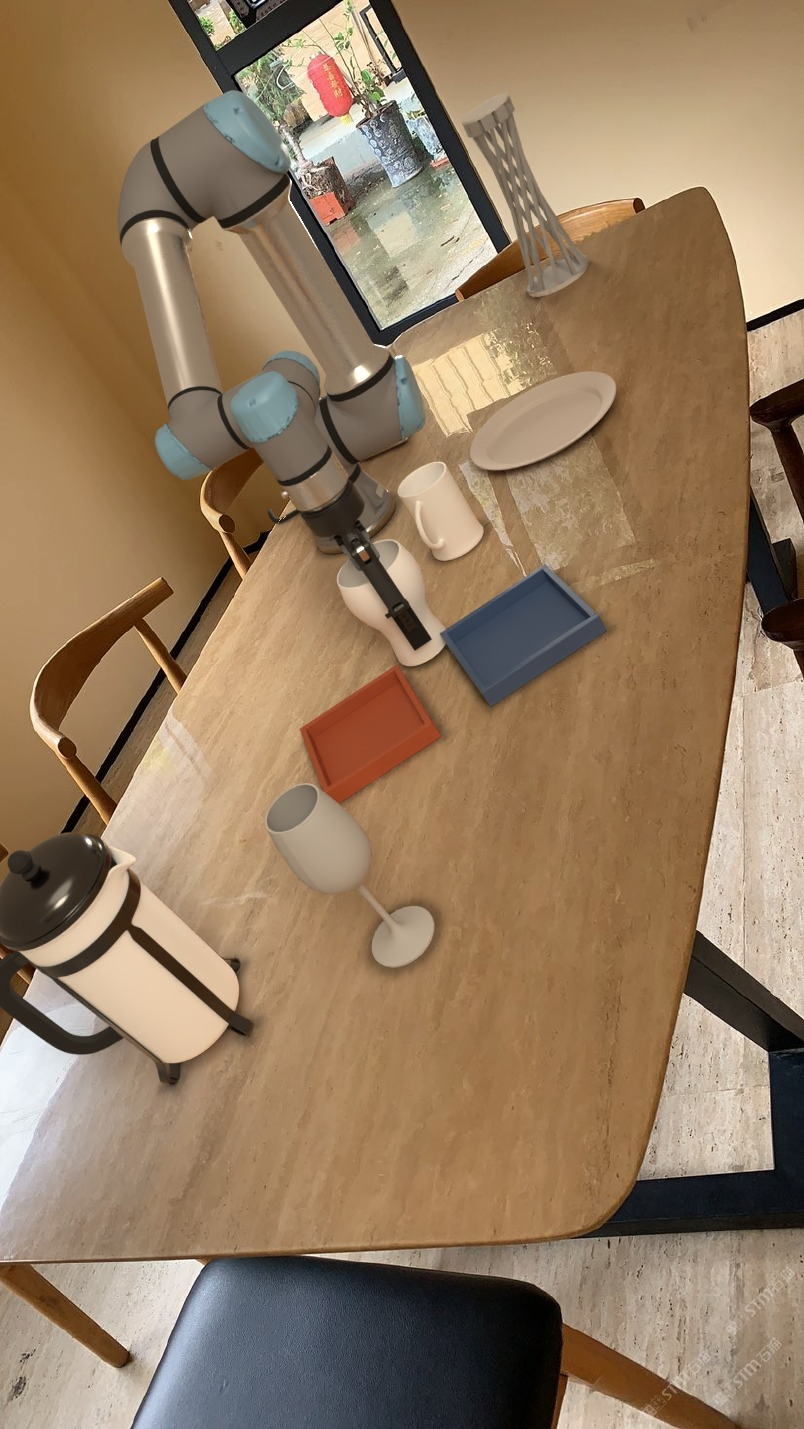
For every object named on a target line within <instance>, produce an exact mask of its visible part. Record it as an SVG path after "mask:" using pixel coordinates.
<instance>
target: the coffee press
mask: <svg viewBox="0 0 804 1429" xmlns="http://www.w3.org/2000/svg"><path fill="white" fill-rule="evenodd" d="M136 863H137V858H136V857H135V856H134V855H132V854H131V853H128V852H126V851H123V850H121V849H119V848H116V847H115V846H112V845H110V844H107V843H106V842H105V841H104V839H102V838H101V837H100V836H98V835H95V834H91V833H83V832H76V831H69V832H63V833H59V834H56V835H53V836H50V837H48V838H46V839H44V840H42V841H41V842H39V843H37V844H36V845H34V846H32V847H31V848H30V849H29V850H28V851H26V850H23V849H18V850H15V851H13V852H12V853H10V854H9V856H8V858H7V868H8V869H9V870H8V872H7V873H6V874H5V876H4V878H3V879H2V881H0V882H1V883H0V944H2V946H4V947H5V948H6V949H8V950H10V951H12V953H8V954H6V955H5V956H4V957H2V958H1V960H0V1008H1V1009H2V1010H3V1011H4V1012H6V1013H7V1014H8V1015H9V1016H10V1017H11V1018H12V1019H14V1020H15V1021H17V1022H18V1023H19V1024H20V1025H22V1026H24V1027H25V1029H27V1030H28V1031H30V1032H31V1033H32V1034H34V1035H36V1036H37V1037H38V1038H40V1039H41V1040H43V1041H44V1042H45V1043H47V1044H48V1045H50V1046H51V1047H53V1048H55V1049H56V1050H58V1051H61V1052H63V1053H66V1054H70V1055H76V1056H83V1055H84V1056H85V1055H91V1054H95V1053H98V1052H101V1051H104V1050H106V1049H107V1048H109V1047H112V1046H113V1045H115V1044H117V1043H118V1042H120V1041H121V1040H123V1039H125V1040H126V1041H127V1042H129V1043H130V1044H131V1045H132V1046H134V1048H136V1049H138V1051H140V1052H141V1053H143V1054H144V1055H145V1056H147V1057H148V1058H149V1059H150V1060H152V1061H153V1063H154V1065H155V1066H156V1070H157V1075H158V1079H159V1082H160V1083H161V1084H164V1085H168V1086H176V1084H177V1083H178V1082H179V1079H180V1063H182V1062H183V1063H184V1062H186V1061H189V1060H192V1059H194V1058H195V1057H198V1056H200V1055H202V1054H203V1053H204V1052H205V1051H207V1050H208V1049H209V1048H210V1047H211V1046H213V1045H214V1044H215V1043H216V1042H217V1041H218V1039H220V1037H221V1036H222V1035H223V1033H224V1032H225V1031H226V1030H230V1031H232V1032H233V1033H235V1034H238V1035H239V1036H242V1037H245V1038H248V1037H249V1035H250V1033H251V1032H252V1029H253V1027H254V1026H255V1023H254V1022H253V1021H251V1020H249V1019H248V1018H246V1017H244V1016H243V1015H241V1014H239V1013H238V1012H236V1010H237V1006H238V1003H239V996H240V985H239V980H238V977H237V974H236V973H237V972H238V971H239V970H240V967H241V963H240V959H239V958H237V957H231V956H221V955H220V954H218V952H216V950H214V948H212V947H211V946H210V945H208V944H207V942H206V941H205V940H204V939H202V938H201V937H200V936H199V935H198V934H197V933H196V932H195V931H194V930H193V929H192V928H190V927H189V925H188V924H187V923H185V922H184V921H183V920H182V919H181V918H180V917H179V916H178V915H177V914H175V913H174V911H172V910H171V909H170V908H169V907H168V906H167V905H166V904H165V903H164V902H162V900H161V899H160V898H159V897H157V896H156V895H155V894H154V893H153V892H152V891H151V889H149V888H148V887H146V886H147V885H145V884H144V883H143V882H142V881H140V878H139V877H138V875H137V874H136V872H134V870H132V869H131V868H130V867H132V866H133V865H135V864H136ZM226 961H230V965H229V964H228V963H227V962H226ZM27 964H30V965H31V966H32V967H33V968H35V969H36V970H37V971H38V972H40V973H41V974H43V975H44V976H45V977H48V978H49V979H51V980H52V981H53V982H54V983H55V984H56V985H57V986H59V987H60V988H61V989H62V990H64V992H66V993H67V994H68V995H70V996H71V997H72V998H73V999H75V1000H76V1001H78V1002H79V1003H80V1004H81V1005H82V1006H84V1007H85V1008H86V1009H88V1010H89V1011H90V1012H91V1013H93V1014H94V1015H95V1016H97V1017H98V1018H99V1019H100V1020H102V1021H103V1022H104V1023H105V1024H107V1026H108V1027H106V1028H104V1029H102V1030H100V1031H99V1032H96V1033H94V1034H90V1035H77V1034H74V1033H71V1032H69V1031H67V1030H66V1029H64V1028H63V1027H62V1026H61V1025H59V1024H58V1023H57V1022H56V1021H54V1020H52V1019H51V1018H50V1017H49V1016H47V1015H46V1014H44V1013H43V1012H42V1011H41V1010H39V1009H38V1008H37V1007H35V1006H34V1005H33V1004H32V1003H30V1002H29V1001H28V1000H26V999H25V998H23V997H22V996H21V995H20V994H19V993H18V992H17V991H16V990H15V989H14V988H13V986H12V983H11V980H12V979H13V977H14V976H15V975H16V974H17V973H18V972H19V971H21V970H22V968H23V966H26V965H27ZM164 1063H166V1064H169V1075H168V1072H167V1068H166V1065H165V1064H164ZM168 1076H169V1077H168Z"/></svg>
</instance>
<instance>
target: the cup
mask: <svg viewBox="0 0 804 1429" xmlns="http://www.w3.org/2000/svg"><path fill="white" fill-rule="evenodd" d="M372 543H373V545H374V546H375V548H376V549H377V551H378V552H379V554H380V558H379V561H380V562H381V564H382V565H383V567H384V568H385V570H386V571H387V573H388V574H389V576H390V577H391V579H392V580H393V582H394V583H395V585H396V586H397V588H398V589H399V591H400V592H401V594H402V595H403V597H404V598H405V599H406V600H407V601H408V602H409V605H410V606H411V608H412V609H413V611H414V612H415V614H416V615H417V617H418V618H419V620H420V621H421V623H422V625H423V626H424V628H425V629H426V631H427V632H428V634H429V635H430V637H431V638H432V640H430V641H429V642H427V643H426V644H424V645H423V646H421V647H420V648H418V649H417V650H415V651H414V649H413V648H412V646H411V645H410V643H409V642H408V640H407V639H406V637H405V636H404V634H403V633H402V631H401V630H400V628H399V627H398V625H397V624H396V622H395V621H394V619H393V618H392V616H391V617H390V618H388V619H387V618H386V616H385V614H387V613H388V608H387V607H386V605H385V604H384V602H383V601H382V599H381V598H380V596H379V595H378V593H377V592H376V590H375V589H374V587H373V586H372V584H371V583H370V581H369V580H368V578H367V577H366V575H365V574H364V572H363V571H358V570H357V569H356V567H355V566H354V564H353V563H352V561H351V560H350V558H349V557H348V559H347V560H345V562H344V563H343V564H342V566H341V567H340V569H339V571H338V573H337V575H336V584H337V586H338V589H339V592H340V594H341V598H342V600H343V602H344V603H345V605H346V606H347V608H348V609H349V611H350V612H351V613H352V615H354V616H355V617H356V618H357V619H359V620H360V621H361V622H363V623H364V624H366V625H367V626H369V627H371V628H373V629H375V630H377V631H379V632H380V633H381V634H382V635H383V636H384V637H385V638H386V639H387V640H388V641H389V643H390V645H391V647H392V650H393V652H394V654H395V656H396V659H397V661H398V662H399V663H400V664H401V665H403V666H405V667H415V666H419V665H423V664H424V663H426V662H429V661H430V660H432V659H433V658H435V656H437V655H438V654H439V653H441V651H442V650H443V649H444V647H445V646H446V645H447V644H446V643H445V641H444V640H443V638H442V637H441V635H440V633H441V632H443V631H444V630H446V629H447V628H446V627H445V626H444V625H443V623H442V622H441V621H440V620H439V619H438V618H437V617H436V616H435V615H434V614H433V613H432V612H431V609H430V607H429V605H428V603H427V599H426V584H425V580H424V576H423V572H422V569H421V567H420V565H419V564H418V562H417V561H416V559H415V557H414V556H413V554H412V553H411V552H410V551H409V550H407V548H406V547H404V546H403V545H402V544H401V543H400V542H399V541H397V540H396V539H392V538H387V539H379V540H376V541H374V542H372Z"/></svg>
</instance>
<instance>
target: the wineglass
mask: <svg viewBox="0 0 804 1429" xmlns="http://www.w3.org/2000/svg"><path fill="white" fill-rule="evenodd" d="M264 826H265V829H266V831H267V833H268V835H269V837H270V838H271V840H272V842H273V844H274V846H275V847H276V849H277V851H278V853H279V854H280V855H281V857H282V858H283V860H284V862H285V863H286V864H287V866H288V868H290V870H291V871H292V873H293V874H294V875H295V876H296V877H297V878H298V879H299V881H301V883H302V884H304V885H305V886H306V887H307V888H309V889H310V890H312V891H313V892H316V893H319V894H322V895H327V896H336V895H337V896H338V895H339V896H340V895H344V894H347V893H350V892H353V891H357V892H358V893H359V894H361V896H363V898H364V899H365V900H366V901H367V903H369V904H370V906H371V907H372V908H373V909H374V910H375V912H376V913H377V914H378V915H379V916H380V918H382V921H381V923H379V925H378V926H377V929H376V930H375V932H374V934H373V937H372V941H371V952H372V955H373V958H374V959H375V961H376V962H377V963H378V964H379V965H381V966H383V967H384V968H391V969H395V968H403V967H404V966H407V965H409V964H411V963H412V962H414V961H416V960H418V958H419V957H420V956H422V955H423V954H424V952H425V951H426V950H428V947H429V946H430V944H431V942H432V941H433V937H434V934H435V926H436V925H435V921H434V917H433V916H432V914H431V912H430V911H428V910H427V909H426V908H424V907H421V906H419V905H409V906H408V905H407V906H403V907H401V908H398V909H397V910H395V911H393V912H392V913H390V914H389V913H388V911H386V909H385V908H384V907H383V906H382V904H381V903H380V902H379V901H378V900H377V899H376V897H375V896H373V894H372V893H371V892H370V891H369V889H368V888H367V886H366V885H365V880H366V878H367V876H368V875H369V872H370V870H371V865H372V858H373V850H372V845H371V841H370V838H369V837H368V835H367V832H366V831H365V830H364V828H363V826H362V825H361V824H360V822H359V821H358V820H357V819H356V818H355V817H354V815H352V814H351V813H350V812H349V811H347V809H345V808H344V807H343V806H342V805H341V803H339V804H338V803H337V802H336V801H335V800H334V799H332V798H331V797H330V796H329V795H327V794H326V793H325V792H323V790H322V788H319V787H318V786H317V785H315V784H313V783H310V782H306V783H305V782H302V783H298V784H295V785H293V786H291V787H289V788H287V789H285V790H284V791H283V792H282V793H281V794H279V795H278V796H277V797H276V798H275V799H274V801H272V803H271V804H270V806H269V807H268V808H267V810H266V813H265V817H264Z"/></svg>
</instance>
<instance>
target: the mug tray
mask: <svg viewBox="0 0 804 1429" xmlns="http://www.w3.org/2000/svg"><path fill="white" fill-rule="evenodd" d="M606 632H607V628H606V627H605V624H604V622H603V620H602V619H601V617H600V615H599V614H598V613H597V612H596V611H595V610H594V609H592V607H591V606H590V605H589V604H587V602H585V601H584V600H583V598H581V596H579V595H578V594H577V592H575V591H574V590H573V589H572V588H571V587H570V586H569V585H568V584H567V583H566V582H565V581H564V580H563V579H562V578H560V576H558V574H556V572H555V571H553V569H551V567H549V566H548V565H547V564H546V563H544V564H542V565H541V566H539V567H537V568H536V569H535V570H533V571H531V572H530V573H529V574H527V575H525V576H524V577H523V578H521V579H520V580H518V581H517V582H515V583H514V584H512V585H510V586H509V587H508V588H506V589H504V590H503V591H502V592H500V593H499V594H497V595H495V596H494V597H493V598H491V599H489V600H488V601H486V602H485V603H483V604H482V605H481V606H479V607H477V608H476V609H474V610H472V611H471V612H470V613H468V614H467V615H466V616H464V617H463V618H461V619H459V620H458V621H456V622H455V623H453V624H452V625H450V626H449V627H447V628H446V630H444V631H443V632H441V633H440V635H441V637H442V638H443V640H444V641H445V643H446V644H445V645H446V646H447V647H448V649H449V650H450V652H451V653H452V655H453V656H454V658H456V660H457V662H458V663H459V664H460V666H461V668H462V669H463V670H464V671H465V673H466V675H467V676H468V677H469V679H470V680H471V682H472V683H473V684H474V686H475V687H476V688H477V690H478V691H479V693H480V695H481V696H482V697H483V698H484V700H485V701H486V703H487V704H488V705H489V707H490V708H491V707H493V706H494V705H497V703H500V702H501V701H502V700H504V699H505V698H507V697H509V696H510V695H512V694H513V693H514V692H516V691H517V690H519V689H520V688H522V687H524V686H525V685H526V684H528V683H530V682H531V681H533V680H534V679H536V678H537V677H538V676H540V675H542V674H543V673H545V672H546V671H548V670H549V669H551V668H553V667H554V666H555V665H557V664H558V663H560V662H562V661H563V660H565V659H567V657H569V656H571V655H573V654H574V653H576V652H577V651H579V650H580V649H582V648H583V647H584V646H586V645H588V644H589V643H590V642H592V641H594V640H595V639H596V638H598V637H600V636H601V635H603V634H604V633H606Z"/></svg>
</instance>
